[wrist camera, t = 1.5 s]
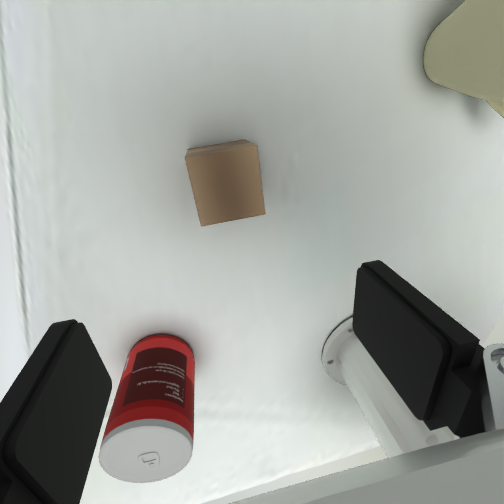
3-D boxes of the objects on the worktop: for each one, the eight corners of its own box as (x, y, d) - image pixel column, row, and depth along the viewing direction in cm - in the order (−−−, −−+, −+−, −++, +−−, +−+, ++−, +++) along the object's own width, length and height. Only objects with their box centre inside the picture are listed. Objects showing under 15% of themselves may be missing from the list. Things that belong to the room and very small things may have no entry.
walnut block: (244, 139, 25) (257, 146, 19) (252, 195, 27) (265, 214, 22) (187, 149, 24) (184, 158, 19) (200, 204, 27) (201, 226, 21)
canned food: (150, 390, 35) (132, 494, 26) (113, 349, 32) (75, 451, 22) (206, 366, 35) (208, 461, 26) (174, 322, 32) (163, 413, 22)
